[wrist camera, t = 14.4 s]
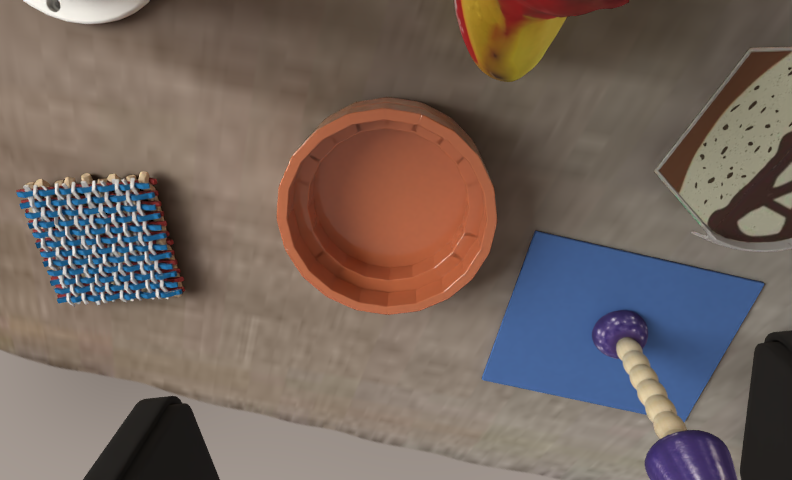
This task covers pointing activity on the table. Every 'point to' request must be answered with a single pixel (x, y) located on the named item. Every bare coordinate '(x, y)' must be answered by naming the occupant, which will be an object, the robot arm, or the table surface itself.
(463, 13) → the bottle
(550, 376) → the cloth
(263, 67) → the table surface
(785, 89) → the food container
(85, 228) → the woven mat
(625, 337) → the toy lamp
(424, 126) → the bowl
